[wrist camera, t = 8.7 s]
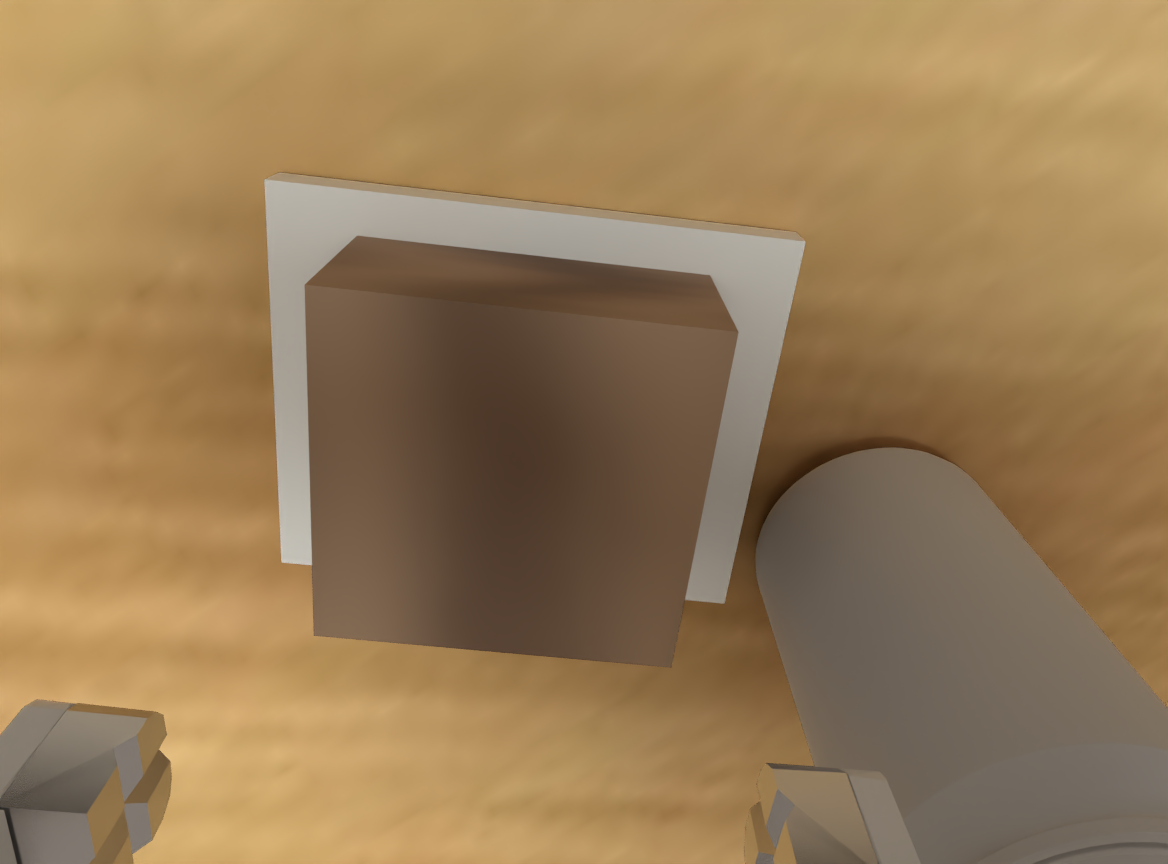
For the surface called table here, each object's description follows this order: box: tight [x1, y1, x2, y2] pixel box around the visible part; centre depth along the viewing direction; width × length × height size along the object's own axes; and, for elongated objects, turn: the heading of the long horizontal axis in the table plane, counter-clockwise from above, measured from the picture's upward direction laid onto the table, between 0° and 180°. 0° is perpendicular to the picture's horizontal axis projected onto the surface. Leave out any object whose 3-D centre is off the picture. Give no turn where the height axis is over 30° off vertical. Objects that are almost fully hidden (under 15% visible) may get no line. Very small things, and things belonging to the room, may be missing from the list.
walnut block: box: [305, 236, 739, 668], centre depth 19 cm, size 8×8×4 cm
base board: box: [264, 172, 806, 604], centre depth 22 cm, size 12×10×1 cm
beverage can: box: [755, 447, 1168, 864], centre depth 18 cm, size 6×6×12 cm
